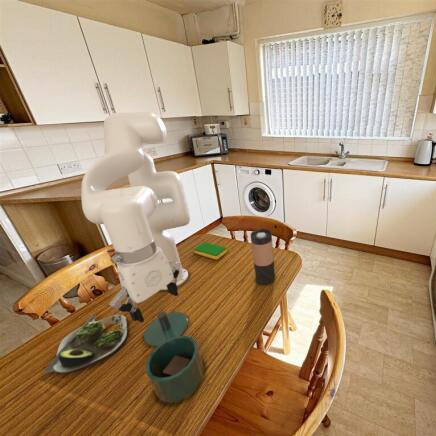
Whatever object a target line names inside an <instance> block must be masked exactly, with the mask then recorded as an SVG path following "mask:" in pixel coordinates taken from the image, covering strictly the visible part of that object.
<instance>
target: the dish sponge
mask: <svg viewBox="0 0 436 436" xmlns="http://www.w3.org/2000/svg"><path fill="white" fill-rule="evenodd" d="M193 252H194V254H196V255H200V256H203V257H206V258H210V259H212V260H215V261H217V260H219V259H220V258H221V257H223V256H224V255H225V254H227V253H228V248H227V247H225V246H223V245H217V244H214V243H210V242H206V241H204V242H202V243H200V244H199V245H197V246H196V247H194V248H193Z"/></svg>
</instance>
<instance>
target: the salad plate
mask: <svg viewBox="0 0 436 436" xmlns="http://www.w3.org/2000/svg"><path fill="white" fill-rule="evenodd" d="M96 317H97V316H96V315H91V316H90V317H89V318H88V319H87V320H86V321H85V322H84V323H83V325H82V326H80V327H78V328H76V329H74V330H73V331H72V332H70V333H69V334H67V335H66V336H65V337H64V338H63V339H62V340H61V341H60V343H59V346H58V348H57V352H56V356H55V357H54V358H53V359H52V360H51V361H50V362H49V363H48V365H47V366H46V367H45V369H44V370H43V373H44V375H47V374H49V373H57V374H63V375H65V374H66V375H68V374H73V373H77V372H79V371H82V370H85V369H87V368H89V367H91V366H92V367H93V366H94V365H96V364H98V363H101V362H103V361H105V360H107V359H108V358H109V359H110V357H112V356H113V355H114V354H116V353H117V352H119V350H120V349H121V348H122V347H123V345H124V344H125V342H126V341H127V338H128V335H129V333H128V322H127V321H128V320H127V317H126V316H125V315H123V314H113V315H110V316H107V317H105V318H102V319H100V320H96ZM110 325H116V326H118V327H119V328H120V329H119V328H118V329H114V328H112V329H111V330H110V331H107V332H105V331H106V327H108V326H110Z"/></svg>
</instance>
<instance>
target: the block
mask: <svg viewBox="0 0 436 436" xmlns="http://www.w3.org/2000/svg"><path fill="white" fill-rule="evenodd" d="M190 361H191V359H186V358H183V357H179V356H176V355H175V356H174V358H173V359H172V360H171V361H170V363H169V364H168V365H167V367H166V368H165V369H164V370H163V372H162V373H163V375H162V376H163V378H164V377H170V376H172V375H174V374H177V373H179V372H180V371H181V370H182V369H184V368H185V367H186V366H187V365H188V364H189V362H190Z"/></svg>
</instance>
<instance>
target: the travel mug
mask: <svg viewBox="0 0 436 436" xmlns="http://www.w3.org/2000/svg"><path fill="white" fill-rule="evenodd" d="M250 243H251V252H252V261H253V267H254V273H255V279H256V282H257V283H258V284H260V285H270V284H271V283H273V282H274V280H275V277H276V276H275V257H274V256H275V255H274V247H273V234H272V231H271V230H269V229H268V228H259V230H256V231H255V230H254V231H251V233H250Z"/></svg>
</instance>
